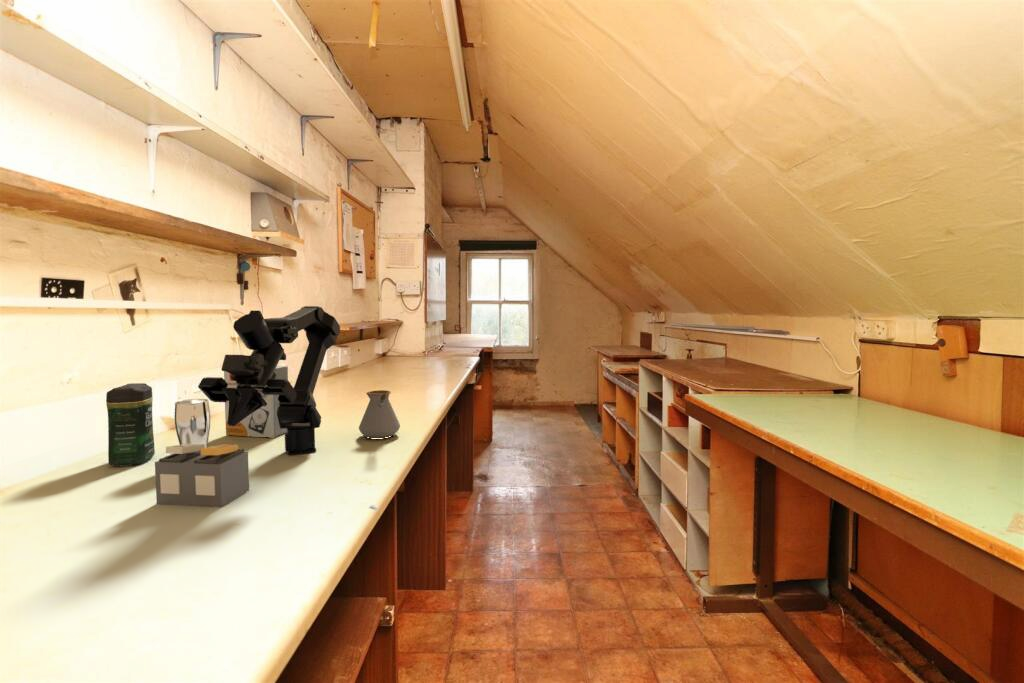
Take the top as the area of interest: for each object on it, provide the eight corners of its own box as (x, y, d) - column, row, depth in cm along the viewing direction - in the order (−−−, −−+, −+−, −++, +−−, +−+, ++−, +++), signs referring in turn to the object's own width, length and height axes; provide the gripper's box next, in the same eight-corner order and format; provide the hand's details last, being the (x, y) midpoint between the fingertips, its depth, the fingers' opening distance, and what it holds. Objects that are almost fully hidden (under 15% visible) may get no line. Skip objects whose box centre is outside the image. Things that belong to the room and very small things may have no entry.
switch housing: (188, 488, 99) (187, 447, 98) (249, 490, 97) (247, 449, 97) (155, 504, 90) (153, 459, 90) (220, 507, 89) (219, 462, 89)
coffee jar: (144, 465, 112) (140, 386, 111) (103, 469, 110) (98, 388, 108) (160, 453, 121) (157, 380, 120) (122, 456, 119) (118, 381, 118)
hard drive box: (224, 436, 139) (222, 366, 137) (243, 429, 146) (241, 363, 145) (273, 438, 136) (271, 368, 135) (290, 431, 144) (288, 365, 142)
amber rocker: (222, 450, 96) (222, 444, 96) (237, 451, 96) (238, 444, 96) (200, 454, 90) (200, 447, 90) (216, 455, 90) (217, 448, 90)
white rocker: (189, 449, 97) (190, 443, 97) (204, 450, 96) (204, 443, 97) (165, 453, 91) (166, 446, 91) (181, 453, 91) (182, 447, 91)
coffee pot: (358, 433, 143) (357, 382, 142) (397, 429, 147) (397, 380, 146) (361, 453, 123) (360, 395, 122) (407, 449, 127) (406, 392, 126)
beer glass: (194, 470, 109) (191, 405, 108) (169, 468, 111) (165, 403, 110) (219, 460, 116) (216, 399, 115) (195, 458, 118) (192, 397, 116)
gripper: (202, 339, 101) (162, 401, 91) (287, 340, 99) (256, 403, 89) (229, 371, 109) (195, 431, 99) (308, 372, 108) (281, 434, 98)
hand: (230, 425), depth 96 cm, fingers closed
